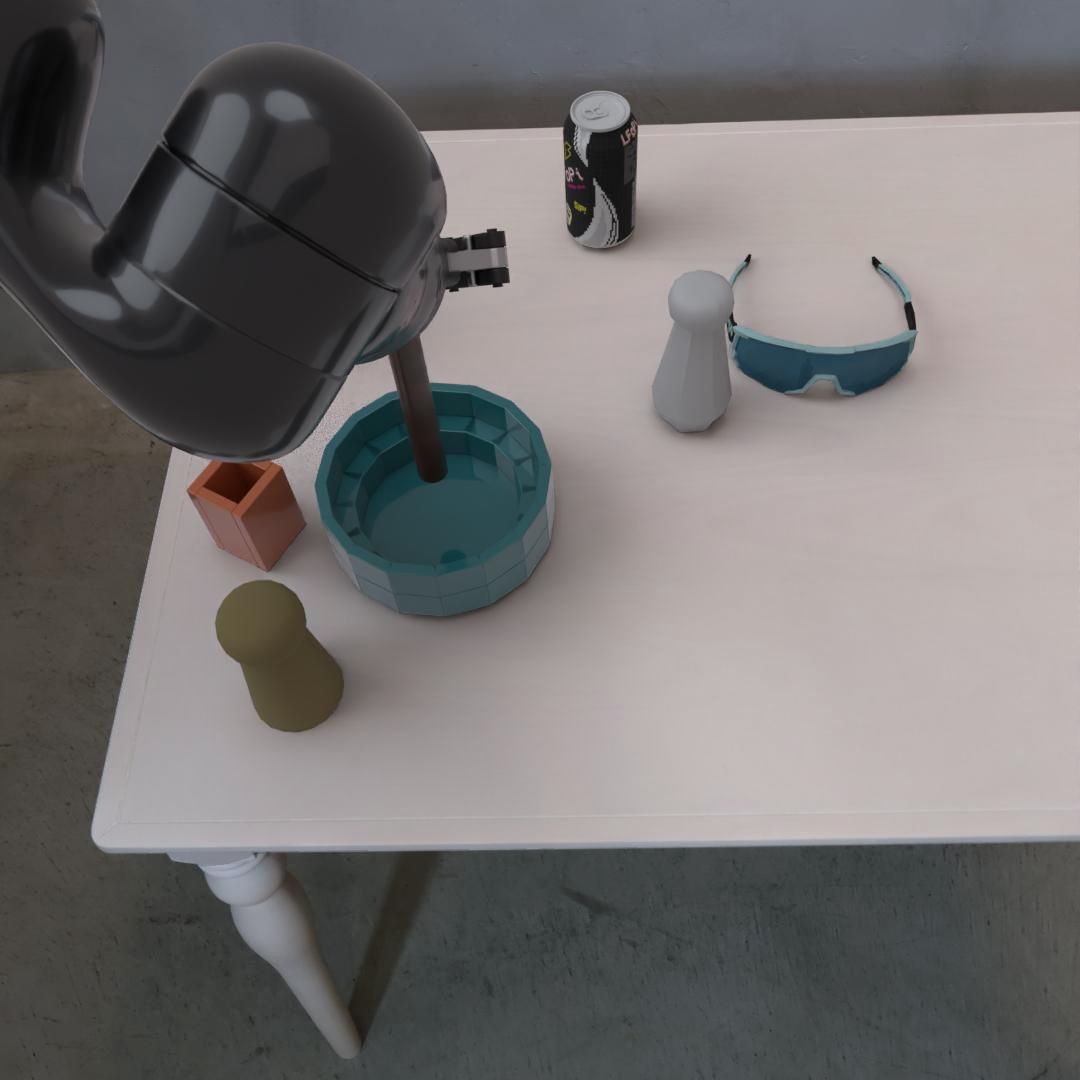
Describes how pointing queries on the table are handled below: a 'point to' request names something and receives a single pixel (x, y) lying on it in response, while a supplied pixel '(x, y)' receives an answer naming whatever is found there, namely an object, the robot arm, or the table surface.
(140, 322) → the robot arm
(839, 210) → the table surface
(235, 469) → the holder
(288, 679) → the cork
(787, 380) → the sunglasses
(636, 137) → the beverage can
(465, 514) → the bowl
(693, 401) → the salt shaker
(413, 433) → the stick
